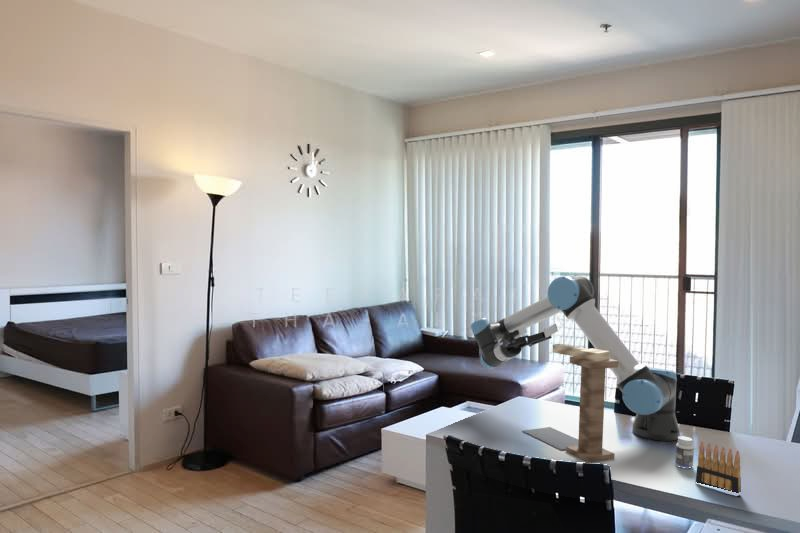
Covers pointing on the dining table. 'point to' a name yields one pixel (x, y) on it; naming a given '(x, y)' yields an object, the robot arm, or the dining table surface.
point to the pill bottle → (684, 452)
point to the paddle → (582, 352)
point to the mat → (552, 437)
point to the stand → (591, 410)
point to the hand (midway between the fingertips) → (540, 327)
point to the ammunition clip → (719, 469)
